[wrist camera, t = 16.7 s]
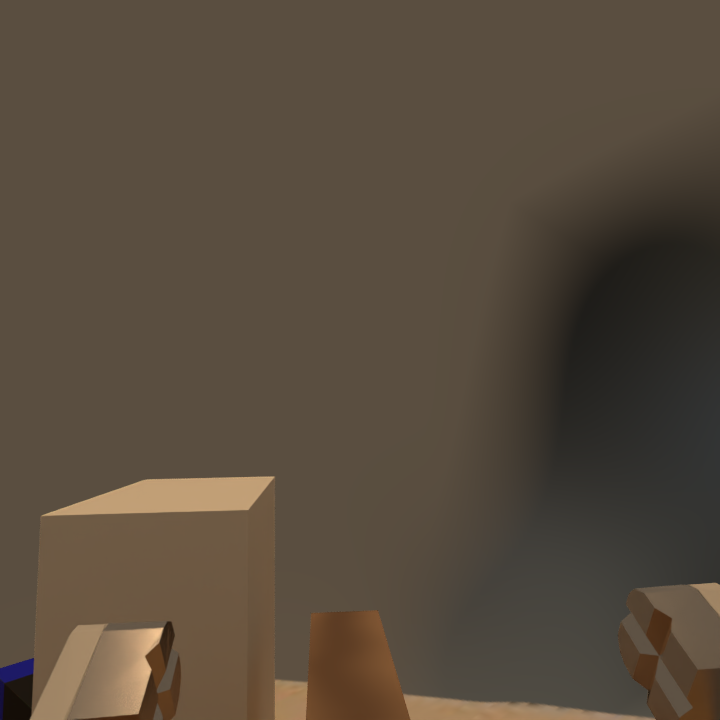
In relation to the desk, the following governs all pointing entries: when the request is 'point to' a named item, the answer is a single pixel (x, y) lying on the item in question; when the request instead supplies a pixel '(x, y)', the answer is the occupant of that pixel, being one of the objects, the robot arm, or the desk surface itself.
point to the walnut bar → (352, 669)
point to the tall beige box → (171, 584)
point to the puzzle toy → (16, 691)
